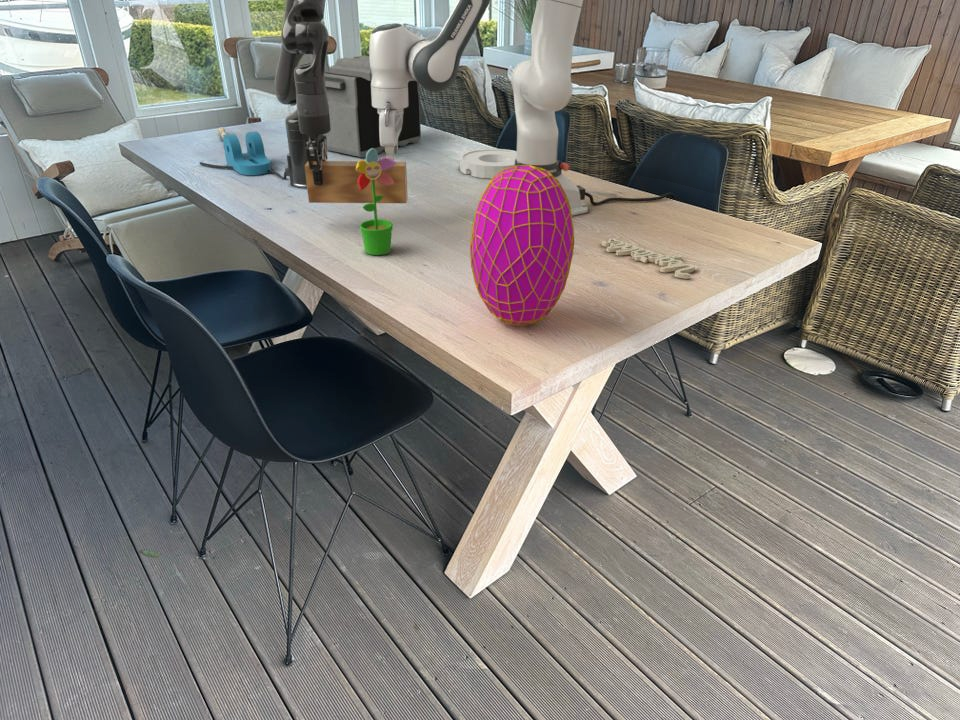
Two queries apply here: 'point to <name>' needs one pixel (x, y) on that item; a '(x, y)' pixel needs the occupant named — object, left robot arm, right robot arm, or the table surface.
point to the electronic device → (362, 109)
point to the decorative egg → (522, 244)
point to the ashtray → (486, 162)
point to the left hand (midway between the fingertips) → (320, 181)
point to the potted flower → (377, 229)
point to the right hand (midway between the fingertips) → (392, 156)
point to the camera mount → (246, 154)
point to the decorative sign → (651, 257)
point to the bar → (354, 184)
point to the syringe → (222, 133)
